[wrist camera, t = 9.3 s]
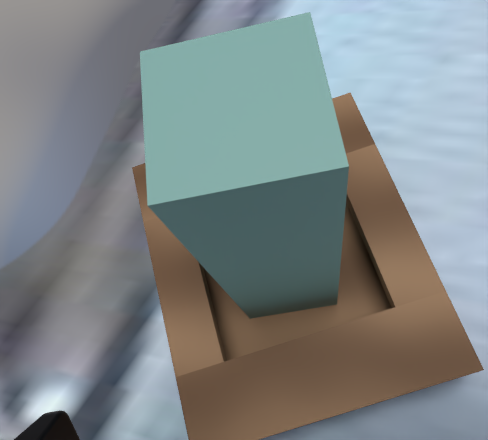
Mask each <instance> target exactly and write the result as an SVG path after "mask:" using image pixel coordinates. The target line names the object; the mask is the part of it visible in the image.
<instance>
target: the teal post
mask: <svg viewBox="0 0 488 440" xmlns="http://www.w3.org/2000/svg"><path fill="white" fill-rule="evenodd" d="M140 63H141V83H142V103H143V124H144V144H145V164H146V185H147V205H148V207H149V208H150V209H151V210H152V211H153V212H154V213H155V214H156V216H157V217H158V218H159V219H160V220H161V221H162V222H163V223H164V224H165V226H166V227H167V228H168V229H169V230H170V231H171V232H172V233H173V234H174V235H175V237H176V238H177V239H178V240H179V241H180V242H181V243H182V244H183V245H184V246H185V248H186V249H187V250H188V251H189V252H190V253H191V254H192V255H193V256H194V257H195V259H196V260H197V261H198V262H199V263H200V264H201V265H202V266H203V267H204V268H205V270H206V271H207V272H208V273H209V274H210V275H211V276H212V277H213V278H214V279H215V281H216V282H217V283H218V284H219V285H220V286H221V287H222V288H223V289H224V291H225V292H226V293H227V294H228V295H229V296H230V297H231V298H232V299H233V300H234V302H235V303H236V304H237V305H238V306H239V307H240V308H241V309H242V310H243V311H244V313H245V314H246V315H247V316H248V317H249V318H250V319H251V318H257V317H264V316H270V315H276V314H282V313H288V312H294V311H300V310H306V309H312V308H319V307H325V306H331V305H337V299H338V288H339V276H340V264H341V253H342V241H343V230H344V218H345V207H346V195H347V184H348V172H349V164H348V160H347V156H346V152H345V149H344V145H343V141H342V137H341V133H340V129H339V125H338V121H337V117H336V113H335V109H334V105H333V101H332V97H331V93H330V89H329V85H328V81H327V77H326V73H325V69H324V65H323V61H322V57H321V54H320V50H319V46H318V42H317V38H316V34H315V30H314V26H313V22H312V18H311V14H310V12H309V13H304V14H300V15H296V16H291V17H287V18H283V19H279V20H274V21H270V22H266V23H261V24H257V25H253V26H249V27H244V28H240V29H236V30H231V31H227V32H223V33H219V34H214V35H210V36H206V37H201V38H197V39H193V40H189V41H184V42H180V43H176V44H171V45H167V46H163V47H159V48H154V49H150V50H146V51H141V52H140Z"/></svg>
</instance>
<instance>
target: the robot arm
mask: <svg viewBox="0 0 488 440" xmlns="http://www.w3.org/2000/svg"><path fill="white" fill-rule="evenodd" d="M14 440H80V439H79V437H78V435H77V433H76V430H75V428H74V426H73V424H72V422H71V420H70V418H69V416H68V414H67V413H66V412H64V411H55V412H49V413H45V414H43V415H42V416H41V417H40V418H38V419H37V420H36V421H35V422H34V423H33V424H31V425H30V426H29V427H28V428H27V429H26V430H25V431H23V432H22V433H21V434H20V435H19V436H18V437H16V438H15V439H14Z"/></svg>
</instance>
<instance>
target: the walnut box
mask: <svg viewBox="0 0 488 440" xmlns="http://www.w3.org/2000/svg"><path fill="white" fill-rule="evenodd" d="M332 101H333V105H334V109H335V113H336V117H337V121H338V125H339V129H340V133H341V137H342V141H343V145H344V149H345V152H346V156H347V160H348V164H349V172H348V184H347V195H346V207H345V218H344V230H343V241H342V253H341V264H340V276H339V288H338V299H337V305H331V306H325V307H319V308H312V309H306V310H300V311H294V312H288V313H282V314H276V315H270V316H264V317H257V318H251V319H250V318H249V317H248V316H247V315H246V314H245V313H244V311H243V310H242V309H241V308H240V307H239V306H238V305H237V304H236V303H235V302H234V300H233V299H232V298H231V297H230V296H229V295H228V294H227V293H226V292H225V291H224V289H223V288H222V287H221V286H220V285H219V284H218V283H217V282H216V281H215V279H214V278H213V277H212V276H211V275H210V274H209V273H208V272H207V271H206V270H205V268H204V267H203V266H202V265H201V264H200V263H199V262H198V261H197V260H196V259H195V257H194V256H193V255H192V254H191V253H190V252H189V251H188V250H187V249H186V248H185V246H184V245H183V244H182V243H181V242H180V241H179V240H178V239H177V238H176V237H175V235H174V234H173V233H172V232H171V231H170V230H169V229H168V228H167V227H166V226H165V224H164V223H163V222H162V221H161V220H160V219H159V218H158V217H157V216H156V214H155V213H154V212H153V211H152V210H151V209H150V208H149V207H148V205H147V185H146V164H145V163H144V164H141V165H138V166H135V167H132V169H133V174H134V179H135V184H136V188H137V193H138V198H139V203H140V208H141V212H142V217H143V222H144V227H145V232H146V236H147V241H148V246H149V251H150V256H151V261H152V265H153V270H154V275H155V280H156V285H157V289H158V294H159V299H160V304H161V309H162V313H163V318H164V323H165V328H166V333H167V337H168V342H169V347H170V352H171V357H172V362H173V366H174V371H175V376H176V381H177V386H178V390H179V395H180V400H181V405H182V410H183V414H184V419H185V424H186V429H187V434H188V438H189V440H259V439H262V438H265V437H268V436H272V435H275V434H278V433H281V432H285V431H288V430H291V429H294V428H298V427H301V426H304V425H307V424H310V423H314V422H317V421H320V420H323V419H327V418H330V417H333V416H336V415H340V414H343V413H346V412H349V411H352V410H356V409H359V408H362V407H365V406H369V405H372V404H375V403H378V402H382V401H385V400H388V399H391V398H395V397H398V396H401V395H404V394H407V393H411V392H414V391H417V390H420V389H424V388H427V387H430V386H433V385H437V384H440V383H443V382H446V381H449V380H453V379H456V378H459V377H462V376H466V375H469V374H472V373H475V372H479V371H482V370H484V369H483V367H482V365H481V363H480V361H479V359H478V357H477V355H476V353H475V351H474V348H473V346H472V344H471V342H470V340H469V338H468V336H467V334H466V332H465V330H464V328H463V326H462V324H461V321H460V319H459V317H458V315H457V313H456V311H455V309H454V307H453V305H452V303H451V301H450V299H449V297H448V294H447V292H446V290H445V288H444V286H443V284H442V282H441V280H440V278H439V276H438V274H437V272H436V270H435V267H434V265H433V263H432V261H431V259H430V257H429V255H428V253H427V251H426V249H425V247H424V245H423V243H422V240H421V238H420V236H419V234H418V232H417V230H416V228H415V226H414V224H413V222H412V220H411V218H410V216H409V213H408V211H407V209H406V207H405V205H404V203H403V201H402V199H401V197H400V195H399V193H398V191H397V189H396V186H395V184H394V182H393V180H392V178H391V176H390V174H389V172H388V170H387V168H386V166H385V164H384V162H383V159H382V157H381V155H380V153H379V151H378V149H377V147H376V145H375V143H374V141H373V139H372V137H371V135H370V132H369V130H368V128H367V126H366V124H365V122H364V120H363V118H362V116H361V114H360V112H359V110H358V108H357V105H356V103H355V101H354V99H353V97H352V95H351V93H348V94H345V95H342V96H339V97H336V98H333V99H332Z"/></svg>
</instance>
